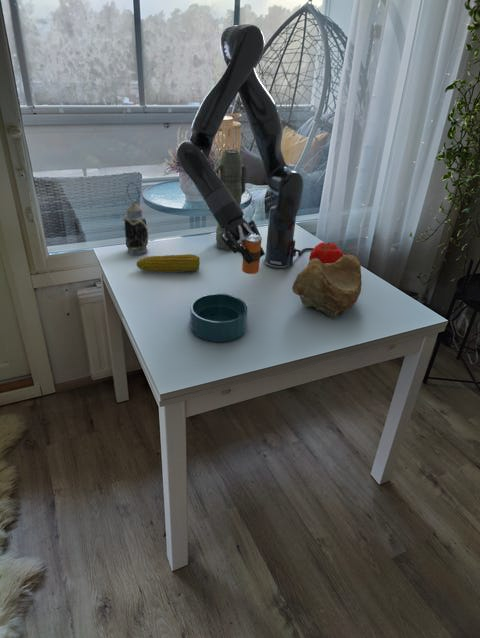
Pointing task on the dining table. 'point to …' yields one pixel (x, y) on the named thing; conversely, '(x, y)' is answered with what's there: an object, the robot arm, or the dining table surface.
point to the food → (169, 263)
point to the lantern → (135, 229)
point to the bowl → (218, 317)
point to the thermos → (230, 184)
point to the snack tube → (252, 253)
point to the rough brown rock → (330, 285)
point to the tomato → (326, 253)
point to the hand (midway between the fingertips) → (256, 258)
